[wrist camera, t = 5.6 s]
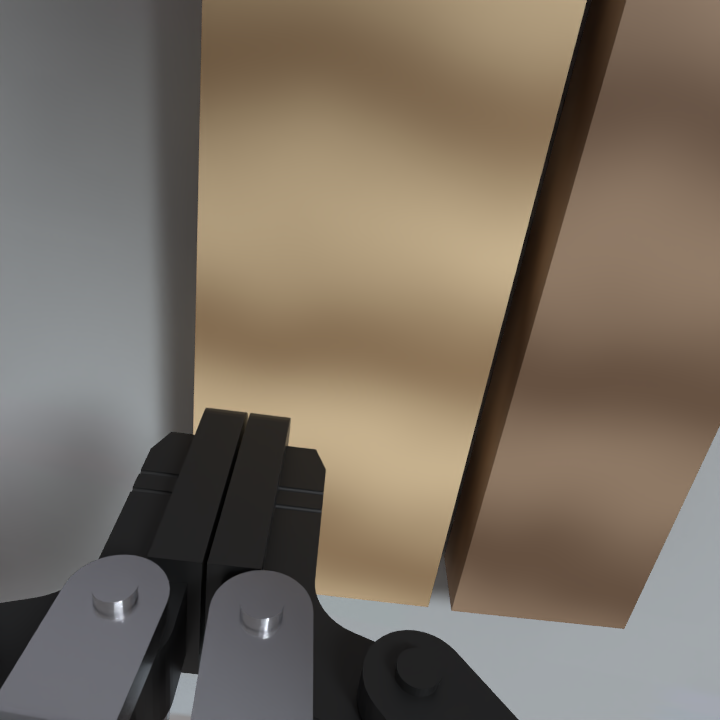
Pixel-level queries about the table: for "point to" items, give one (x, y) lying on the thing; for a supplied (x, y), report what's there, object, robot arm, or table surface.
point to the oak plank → (369, 244)
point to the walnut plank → (605, 333)
